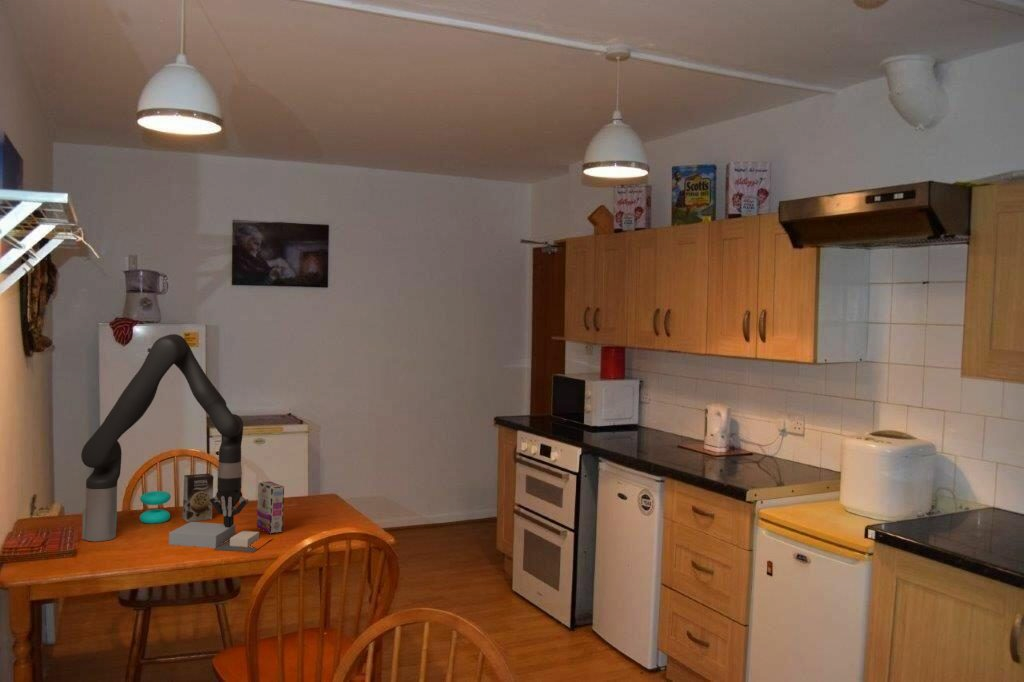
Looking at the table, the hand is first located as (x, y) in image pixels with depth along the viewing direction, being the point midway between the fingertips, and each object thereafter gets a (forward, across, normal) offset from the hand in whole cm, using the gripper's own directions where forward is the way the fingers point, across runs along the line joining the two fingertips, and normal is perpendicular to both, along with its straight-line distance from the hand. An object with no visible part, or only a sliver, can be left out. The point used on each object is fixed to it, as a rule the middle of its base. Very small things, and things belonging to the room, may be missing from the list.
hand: (228, 526), depth 263 cm
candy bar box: (+5, +7, +17) cm, 19 cm away
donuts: (+5, -37, +19) cm, 42 cm away
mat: (+5, +6, -1) cm, 8 cm away
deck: (+5, -9, 0) cm, 10 cm away
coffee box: (+5, -24, +25) cm, 35 cm away
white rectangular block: (+4, +6, 0) cm, 7 cm away
